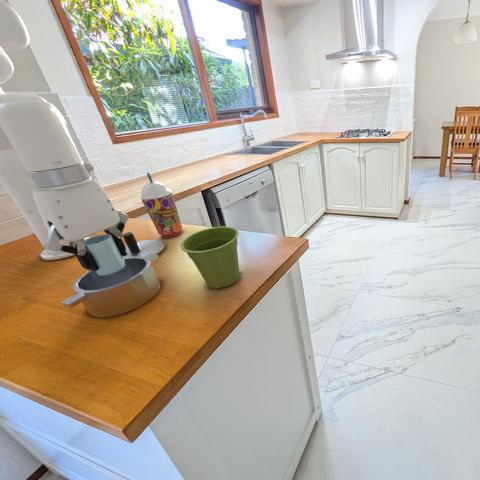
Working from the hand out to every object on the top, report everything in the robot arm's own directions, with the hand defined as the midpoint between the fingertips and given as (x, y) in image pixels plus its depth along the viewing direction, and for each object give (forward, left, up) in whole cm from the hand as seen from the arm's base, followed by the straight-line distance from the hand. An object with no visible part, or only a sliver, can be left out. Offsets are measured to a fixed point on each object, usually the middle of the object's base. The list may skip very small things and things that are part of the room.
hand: (107, 261), depth 61 cm
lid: (-17, +15, -9) cm, 24 cm away
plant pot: (+18, +11, -10) cm, 23 cm away
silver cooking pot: (0, 0, -9) cm, 9 cm away
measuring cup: (0, 0, -2) cm, 2 cm away
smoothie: (-18, +28, -10) cm, 35 cm away
